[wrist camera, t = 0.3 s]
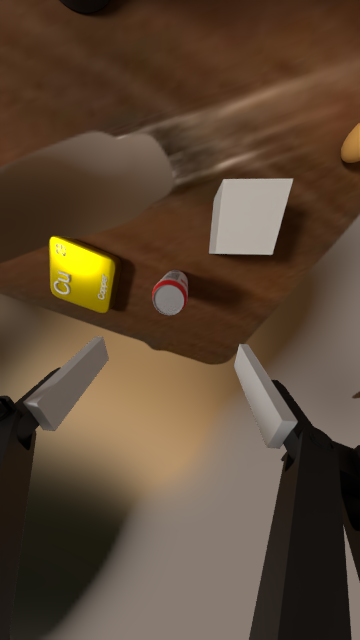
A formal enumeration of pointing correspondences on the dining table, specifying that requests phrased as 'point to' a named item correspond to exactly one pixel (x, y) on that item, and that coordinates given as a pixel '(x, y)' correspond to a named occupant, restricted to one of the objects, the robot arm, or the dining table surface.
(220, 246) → the white cube
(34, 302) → the dining table surface
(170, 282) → the beer can
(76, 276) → the element tile
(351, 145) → the ball
